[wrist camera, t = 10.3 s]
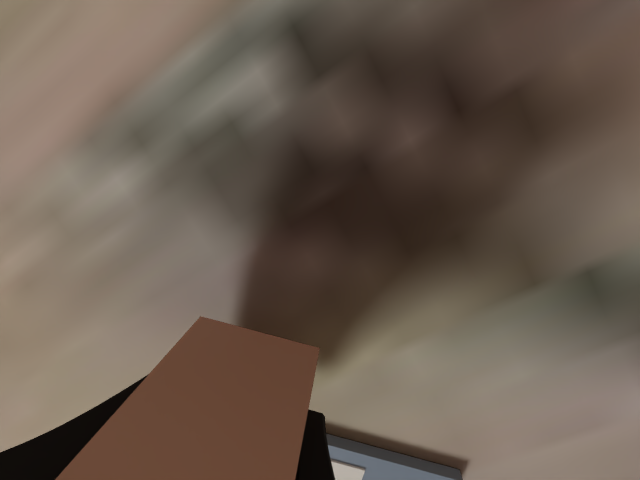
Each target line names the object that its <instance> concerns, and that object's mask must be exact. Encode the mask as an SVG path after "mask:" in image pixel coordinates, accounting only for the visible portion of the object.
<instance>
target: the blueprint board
mask: <svg viewBox="0 0 640 480" xmlns="http://www.w3.org/2000/svg"><path fill="white" fill-rule="evenodd" d="M326 437H327V443H328V449H329V454H330V459H331V463H332V468H333V472H334V476H335V480H462V476H461V473H460V470H459V469H455V468H451V467H448V466H444V465H440V464H436V463H433V462H429V461H425V460H422V459H418V458H414V457H411V456H407V455H403V454H400V453H396V452H392V451H389V450H385V449H381V448H377V447H374V446H370V445H366V444H363V443H359V442H355V441H352V440H348V439H344V438H341V437H337V436H333V435H330V434H326Z"/></svg>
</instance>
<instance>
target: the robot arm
mask: <svg viewBox="0 0 640 480" xmlns="http://www.w3.org/2000/svg"><path fill="white" fill-rule="evenodd" d="M148 375H149V374H148ZM148 375H147V376H148ZM147 376H145V377H144V378H142V379H140V380H139V381H137V382H136V383H134V384H133V385H131V386H129V387H128V388H126V389H124V390H123V391H121V392H120V393H118V394H116V395H115V396H113V397H111V398H110V399H108V400H106V401H105V402H103V403H101V404H99V405H98V406H96V407H94V408H93V409H91V410H89V411H87V412H85V413H83V414H82V415H80V416H78V417H76V418H74V419H72V420H70V421H69V422H67V423H65V424H63V425H61V426H59V427H57V428H55V429H53V430H51V431H49V432H47V433H45V434H42V435H40V436H38V437H36V438H34V439H32V440H29V441H27V442H25V443H23V444H20V445H18V446H15V447H13V448H10V449H8V450H5V451H3V452H0V480H55V479H56V478H57V477H58V476H59V475H60V474H61V472H62V471H63V470H64V469H65V468H66V467H67V466H68V465H69V463H70V462H71V461H72V460H73V459H74V458H75V457H76V456H77V455H78V453H79V452H80V451H81V450H82V449H83V448H84V447H85V446H86V444H87V443H88V442H89V441H90V440H91V439H92V438H93V437H94V435H95V434H96V433H97V432H98V431H99V430H100V429H101V428H102V426H103V425H104V424H105V423H106V422H107V421H108V420H109V419H110V417H111V416H112V415H113V414H114V413H115V412H116V411H117V410H118V408H119V407H120V406H121V405H122V404H123V403H124V402H125V401H126V400H127V398H128V397H129V396H130V395H131V394H132V393H133V392H134V391H135V389H136V388H137V387H138V386H139V385H140V384H141V383H142V382H143V380H144V379H145V378H146V377H147ZM295 480H335V476H334V472H333V468H332V463H331V459H330V454H329V449H328V443H327V437H326V429H325V417H324V415H323V413H319V412H316V411H312V410H308V413H307V419H306V424H305V429H304V435H303V440H302V445H301V451H300V456H299V461H298V467H297V472H296V477H295Z"/></svg>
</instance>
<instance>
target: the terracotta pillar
mask: <svg viewBox="0 0 640 480" xmlns="http://www.w3.org/2000/svg"><path fill="white" fill-rule="evenodd" d="M319 349H320V348H318V347H314V346H310V345H307V344H303V343H299V342H295V341H291V340H288V339H284V338H280V337H276V336H273V335H269V334H265V333H261V332H258V331H254V330H250V329H246V328H242V327H239V326H235V325H231V324H227V323H224V322H220V321H216V320H212V319H209V318H205V317H201V316H200V318H199V319H198V320H197V321H196V322H195V323H194V324H193V325H192V327H191V328H190V329H189V330H188V331H187V332H186V333H185V334H184V336H183V337H182V338H181V339H180V340H179V341H178V342H177V343H176V345H175V346H174V347H173V348H172V349H171V350H170V351H169V352H168V354H167V355H166V356H165V357H164V358H163V359H162V360H161V361H160V362H159V364H158V365H157V366H156V367H155V368H154V369H153V370H152V371H151V373H150V374H149V375H148V376H147V377H146V378H145V379H144V380H143V382H142V383H141V384H140V385H139V386H138V387H137V388H136V389H135V391H134V392H133V393H132V394H131V395H130V396H129V397H128V398H127V400H126V401H125V402H124V403H123V404H122V405H121V406H120V407H119V408H118V410H117V411H116V412H115V413H114V414H113V415H112V416H111V417H110V419H109V420H108V421H107V422H106V423H105V424H104V425H103V426H102V428H101V429H100V430H99V431H98V432H97V433H96V434H95V435H94V437H93V438H92V439H91V440H90V441H89V442H88V443H87V444H86V446H85V447H84V448H83V449H82V450H81V451H80V452H79V453H78V455H77V456H76V457H75V458H74V459H73V460H72V461H71V462H70V463H69V465H68V466H67V467H66V468H65V469H64V470H63V471H62V472H61V474H60V475H59V476H58V477H57V478H56V479H55V480H295V477H296V472H297V467H298V461H299V456H300V451H301V445H302V440H303V435H304V429H305V424H306V419H307V413H308V408H309V403H310V397H311V392H312V387H313V381H314V376H315V371H316V365H317V360H318V355H319Z"/></svg>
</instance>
